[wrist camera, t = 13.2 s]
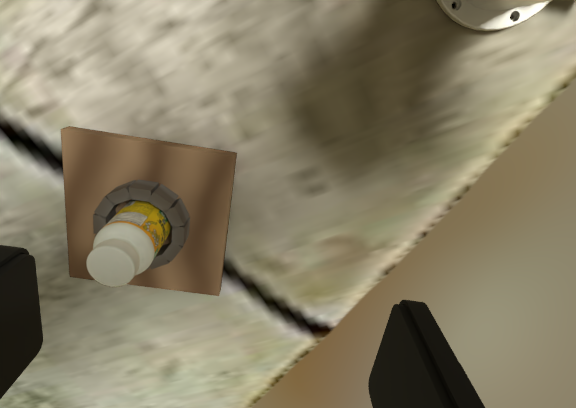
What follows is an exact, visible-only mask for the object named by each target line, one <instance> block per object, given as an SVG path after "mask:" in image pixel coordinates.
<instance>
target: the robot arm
mask: <svg viewBox="0 0 576 408" xmlns="http://www.w3.org/2000/svg"><path fill="white" fill-rule="evenodd" d="M436 1H437V2H438V4H439V5H440V7H441V8H442V10H443V11H444V12H445V13H446V14H447V15H448V16H449V17H450V18H451V19H452V20H453V21H455V22H457V23H459V24H460V25H462V26H464V27H467V28H470V29H474V30H482V31H492V30H501V29H505V28H509V27H513V26H515V25H518V24H520V23H522V22H524V21H526V20H528V19H529V18H531V17H532V16H534V15H535V14H537V13H538V12H540V11H541V10H542V9H543V8H544V7H545V6H546V5H547V4H548V3H549V2H550V1H551V0H436ZM452 3H454V4H455V7H454V9H452ZM510 15H511V16H512V18H511V19H510ZM42 342H43V334H42V324H41V314H40V305H39V295H38V285H37V276H36V266H35V259H34V257H33V256H32V255H29V252H28V251H27V250H26V249H24V248H18V247H11V246H4V245H0V399H1V398H2V397H3V395H4V394H5V393H6V392H7V390H8V389H9V388H10V387H11V386H12V384H13V383H14V382H15V381H16V379H17V378H18V377H19V376H20V375H21V373H22V372H23V371H24V370H25V369H26V367H27V366H28V365H29V364H30V362H31V361H32V360H33V359H34V358H35V356H36V355H37V354H38V352H39V351H40V349H41V346H42ZM369 394H370V398H371V402H372V406H373V408H485V407H484V405H483V403H482V402H481V400H480V398H479V396H478V394H477V393H476V391H475V389H474V387H473V386H472V384H471V382H470V380H469V378H468V377H467V375H466V374H465V371H464V369H463V368H462V366H461V364H460V363H459V362H458V360H457V358H456V356H455V355H454V353H453V351H452V349H451V348H450V346H449V344H448V342H447V340H446V339H445V337H444V335H443V333H442V332H441V330H440V328H439V326H438V325H437V323H436V321H435V319H434V317H433V316H432V314H431V312H430V310H429V308H428V307H427V305H426V304H425V303H423V302H416V301H410V300H402V301H401V302H400V304H399V305H398V304H395V305H394V306H393V308H392V311H391V314H390V317H389V320H388V323H387V326H386V329H385V332H384V335H383V338H382V341H381V344H380V347H379V350H378V353H377V356H376V359H375V362H374V365H373V368H372V371H371V374H370V377H369Z"/></svg>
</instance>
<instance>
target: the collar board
mask: <svg viewBox="0 0 576 408" xmlns="http://www.w3.org/2000/svg"><path fill="white" fill-rule="evenodd" d="M61 140H62V156H63V173H64V190H65V206H66V223H67V240H68V257H69V273H70V277H75V278H83V279H91V280H95V279H94V278H93V277H92V276H91V275H90V273H89V272H88V269H87V264H86V262H87V257H88V255H89V254H90V252H91V251H92V250H93V243H94V239H95V237H96V235H97V233H98V232H99V231H100V230H101V229H102V228H103V227H104V226H105V225H106V224H107V223H108V222H109V221H110V220H111V219H112V218H113V217H114V216H115V215H116V214H117V213H118V212H119V211H120V210H121V209H122V208H123V207H124V206H125V205H126V204H127V203H129V202H130V201H132V200H139V201H146V202H150V203H151V204H153V205H154V206H156V207H157V208H159V209H160V210H162V211H163V212H164V213H165V215H166V217H167V218H168V220H169V222H170V224H171V226H172V229H171V232H170V234H169V235H168V237H167V239H166V240H165V242H164V243H163V245H162V247H161V248H160V250H159V252H158V253H157V255H156V256H155V258H154V260H153V261H152V263H151V265H150V266H149V267H148V268H147V269H146V270H145V271H143V272H142V273H140V274H138V275H135V276H134V277H133V279H132V280H131V281H130V282H129V283H127V284H130V285H137V286H145V287H153V288H161V289H169V290H177V291H184V292H192V293H200V294H208V295H216V296H219V294H220V290H221V283H222V275H223V266H224V258H225V249H226V241H227V232H228V224H229V215H230V207H231V198H232V190H233V181H234V173H235V164H236V156H237V153H235V152H229V151H222V150H216V149H210V148H203V147H197V146H191V145H184V144H178V143H172V142H165V141H159V140H152V139H146V138H140V137H133V136H127V135H121V134H114V133H108V132H102V131H95V130H89V129H83V128H76V127H70V126H69V127H66V128H63V129H61Z"/></svg>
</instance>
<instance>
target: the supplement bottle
mask: <svg viewBox="0 0 576 408" xmlns="http://www.w3.org/2000/svg"><path fill="white" fill-rule="evenodd" d="M171 229H172V226H171V224H170V222H169V220H168V218H167V217H166V215H165V213H164V212H163V211H162V210H160V209H159V208H157V207H156V206H154V205H153V204H151V203H150V202H146V201H139V200H132V201H130V202H129V203H127V204H126V205H125V206H124V207H123V208H122V209H121V210H120V211H119V212H118V213H117V214H116V215H115V216H114V217H113V218H112V219H111V220H110V221H109V222H108V223H107V224H106V225H105V226H104V227H103V228H102V229H101V230H100V231H99V232H98V233H97V235H96V237H95V239H94V243H93V250H92V251H91V252H90V254H89V255H88V257H87V262H86V264H87V269H88V272H89V273H90V275H91V276H92V277H93V278H94V279H95V280H96V281H97V282H99V283H101V284H103V285H105V286H109V287H119V286H123V285H125V284H127V283H129V282H130V281H131V280H132V279H133V277H134V276H135V275H138V274H140V273H142V272H143V271H145V270H146V269H147V268H148V267H149V266H150V265H151V263H152V261H153V260H154V258H155V256H156V255H157V253H158V252H159V250H160V248H161V247H162V245H163V243H164V242H165V240H166V239H167V237H168V235H169V234H170V232H171Z"/></svg>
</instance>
